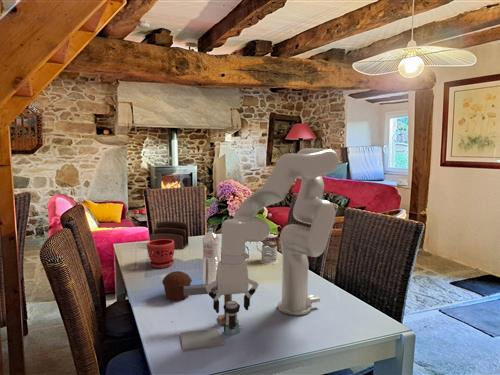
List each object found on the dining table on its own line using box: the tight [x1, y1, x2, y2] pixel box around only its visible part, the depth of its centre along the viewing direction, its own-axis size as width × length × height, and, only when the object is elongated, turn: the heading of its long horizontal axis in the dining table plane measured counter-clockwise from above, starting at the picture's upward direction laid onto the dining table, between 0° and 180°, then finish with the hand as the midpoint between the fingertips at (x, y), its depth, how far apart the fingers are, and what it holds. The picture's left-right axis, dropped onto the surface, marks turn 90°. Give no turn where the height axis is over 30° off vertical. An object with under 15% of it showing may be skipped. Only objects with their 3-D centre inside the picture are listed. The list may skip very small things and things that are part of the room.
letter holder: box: [149, 220, 189, 250], centre depth 223 cm, size 10×20×14 cm, turn 80°
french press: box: [256, 213, 280, 265], centre depth 196 cm, size 10×12×25 cm
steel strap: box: [184, 284, 217, 297], centre depth 130 cm, size 3×17×3 cm, turn 102°
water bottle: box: [202, 227, 220, 285], centre depth 163 cm, size 7×7×25 cm
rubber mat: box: [179, 327, 224, 352], centre depth 121 cm, size 12×10×1 cm
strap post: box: [217, 294, 240, 327], centre depth 133 cm, size 6×6×10 cm
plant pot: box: [146, 239, 175, 269], centre depth 190 cm, size 13×13×12 cm
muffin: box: [162, 270, 193, 302], centre depth 152 cm, size 12×11×10 cm
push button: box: [223, 300, 244, 336], centre depth 125 cm, size 7×5×10 cm
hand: (231, 309), depth 124 cm, fingers open, 9 cm apart
